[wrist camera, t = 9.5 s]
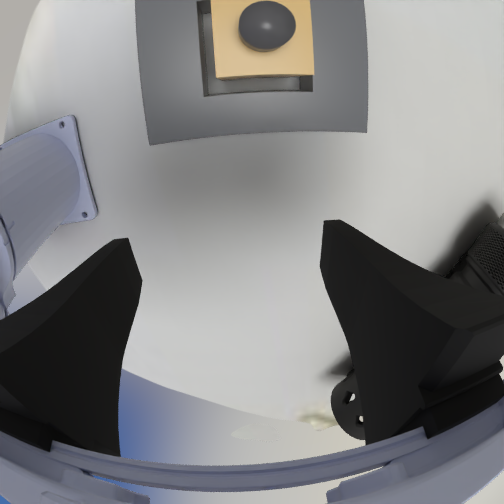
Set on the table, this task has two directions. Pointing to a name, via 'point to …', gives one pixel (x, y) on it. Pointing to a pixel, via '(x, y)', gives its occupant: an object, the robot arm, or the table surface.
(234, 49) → the plug
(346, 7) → the socket housing
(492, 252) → the muzzle brake
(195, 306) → the table surface
